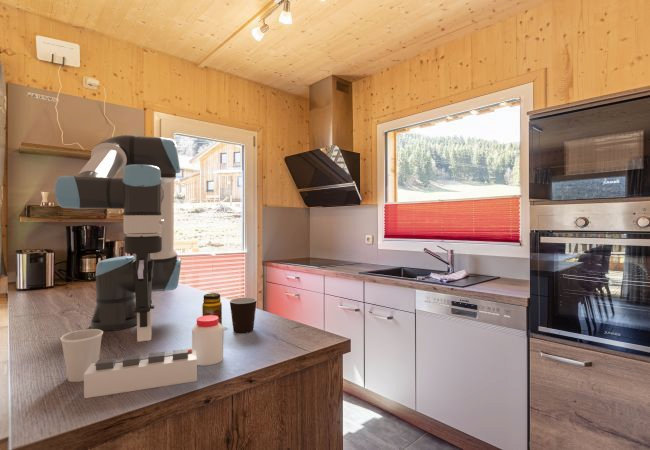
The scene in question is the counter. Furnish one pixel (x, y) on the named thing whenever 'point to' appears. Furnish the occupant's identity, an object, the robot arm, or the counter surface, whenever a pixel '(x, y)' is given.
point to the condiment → (212, 306)
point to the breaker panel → (140, 372)
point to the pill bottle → (208, 340)
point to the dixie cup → (80, 351)
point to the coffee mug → (243, 314)
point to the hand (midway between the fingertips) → (144, 339)
